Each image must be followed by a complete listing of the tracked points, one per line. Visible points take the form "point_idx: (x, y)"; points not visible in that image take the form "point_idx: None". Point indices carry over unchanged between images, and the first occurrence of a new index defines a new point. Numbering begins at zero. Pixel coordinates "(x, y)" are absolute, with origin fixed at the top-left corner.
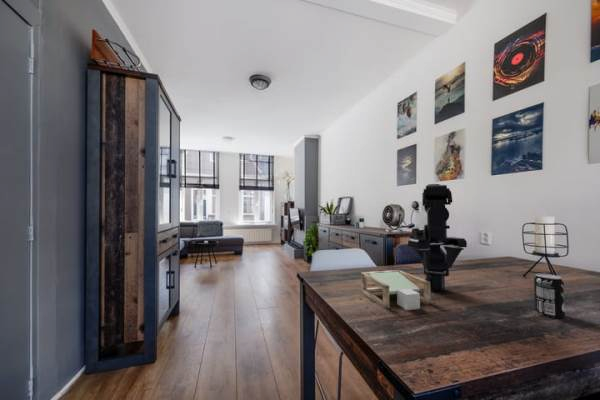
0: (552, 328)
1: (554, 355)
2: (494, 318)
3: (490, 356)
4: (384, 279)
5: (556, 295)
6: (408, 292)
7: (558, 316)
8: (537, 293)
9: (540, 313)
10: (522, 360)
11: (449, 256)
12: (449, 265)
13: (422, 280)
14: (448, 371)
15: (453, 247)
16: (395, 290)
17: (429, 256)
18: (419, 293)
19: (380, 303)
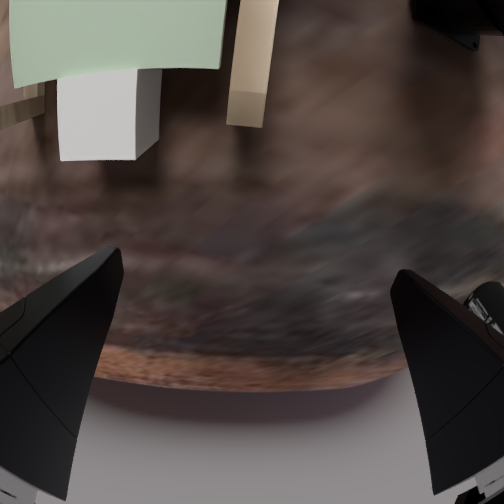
0: (400, 341)
1: (269, 388)
2: (353, 284)
3: (152, 367)
4: None
5: None
6: (86, 131)
7: None
8: (496, 329)
9: (471, 295)
10: (197, 384)
11: (448, 371)
12: (399, 304)
13: (241, 68)
14: None
15: (483, 472)
16: (54, 74)
17: (74, 428)
18: (135, 157)
19: None
